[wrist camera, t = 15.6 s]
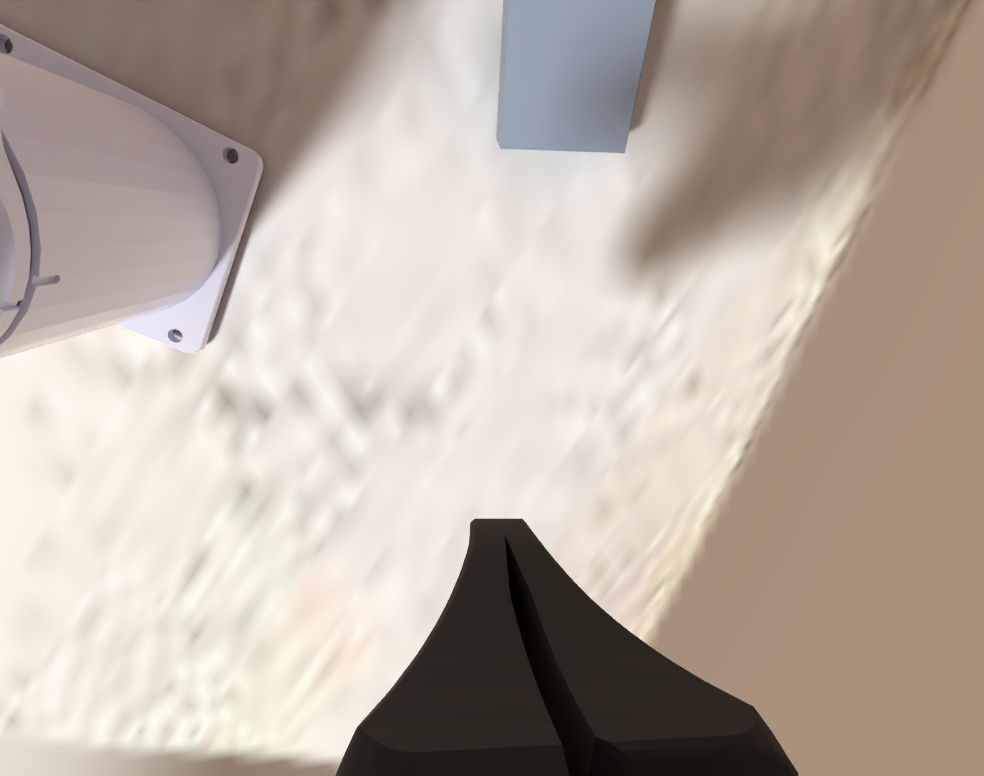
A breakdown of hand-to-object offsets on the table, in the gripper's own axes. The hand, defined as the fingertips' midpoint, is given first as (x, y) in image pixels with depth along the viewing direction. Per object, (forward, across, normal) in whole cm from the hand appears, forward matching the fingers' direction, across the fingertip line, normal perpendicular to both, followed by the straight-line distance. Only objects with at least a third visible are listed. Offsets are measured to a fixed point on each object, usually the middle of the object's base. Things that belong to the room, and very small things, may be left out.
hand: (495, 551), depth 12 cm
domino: (+9, -2, -11) cm, 14 cm away
